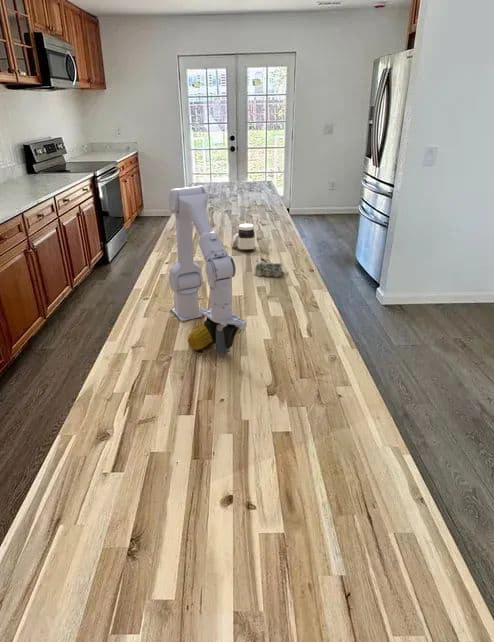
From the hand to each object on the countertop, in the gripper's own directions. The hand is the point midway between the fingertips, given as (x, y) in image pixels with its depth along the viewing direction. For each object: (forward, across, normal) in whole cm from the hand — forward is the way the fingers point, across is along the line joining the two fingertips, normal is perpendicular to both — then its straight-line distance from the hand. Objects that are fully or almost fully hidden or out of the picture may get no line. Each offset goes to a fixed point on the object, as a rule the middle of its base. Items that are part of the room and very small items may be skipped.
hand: (222, 344), depth 121 cm
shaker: (+2, 0, 0) cm, 2 cm away
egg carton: (+4, +20, -60) cm, 63 cm away
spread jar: (+4, +45, -79) cm, 91 cm away
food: (+4, +8, -6) cm, 11 cm away
